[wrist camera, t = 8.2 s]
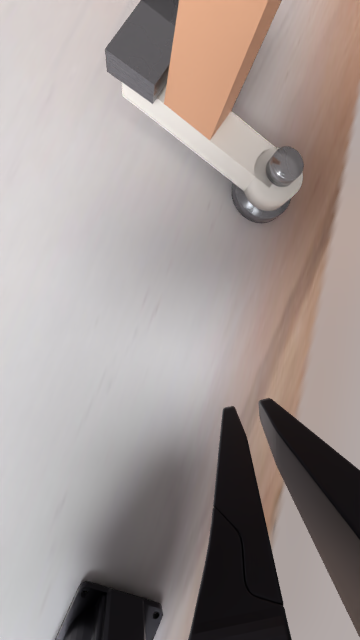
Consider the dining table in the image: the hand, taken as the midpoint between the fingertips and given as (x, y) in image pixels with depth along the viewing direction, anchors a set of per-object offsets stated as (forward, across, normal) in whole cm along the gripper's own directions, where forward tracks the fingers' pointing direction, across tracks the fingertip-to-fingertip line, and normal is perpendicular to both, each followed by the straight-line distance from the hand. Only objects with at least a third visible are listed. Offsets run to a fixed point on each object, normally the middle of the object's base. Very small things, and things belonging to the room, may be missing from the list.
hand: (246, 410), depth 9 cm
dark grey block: (+23, -1, -14) cm, 27 cm away
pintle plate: (+18, -7, -4) cm, 20 cm away
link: (+19, -4, -9) cm, 21 cm away
